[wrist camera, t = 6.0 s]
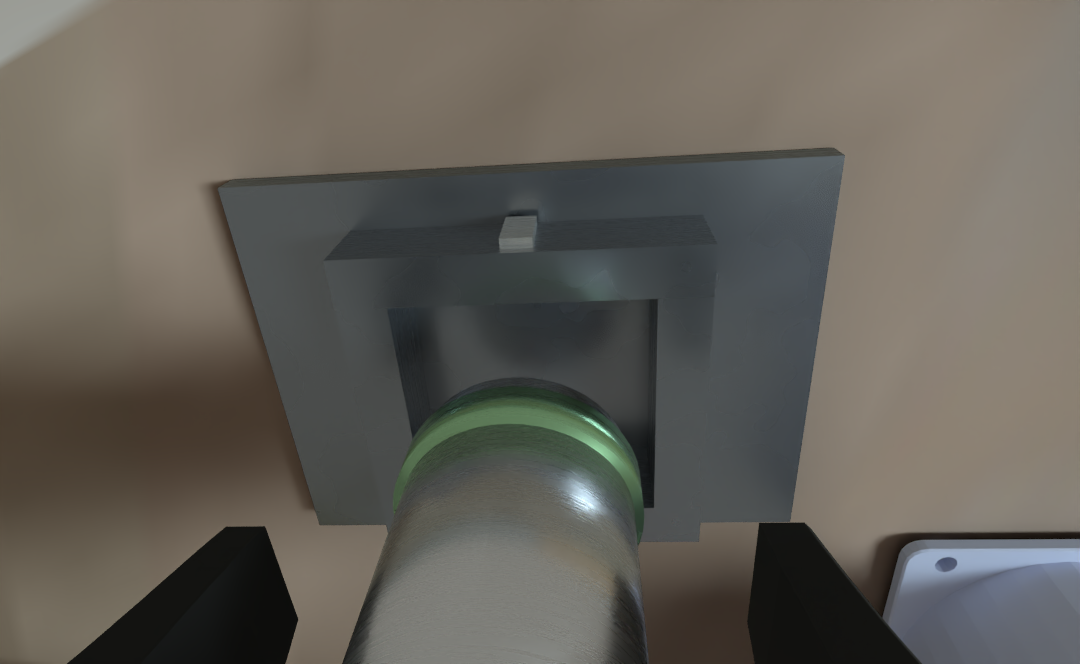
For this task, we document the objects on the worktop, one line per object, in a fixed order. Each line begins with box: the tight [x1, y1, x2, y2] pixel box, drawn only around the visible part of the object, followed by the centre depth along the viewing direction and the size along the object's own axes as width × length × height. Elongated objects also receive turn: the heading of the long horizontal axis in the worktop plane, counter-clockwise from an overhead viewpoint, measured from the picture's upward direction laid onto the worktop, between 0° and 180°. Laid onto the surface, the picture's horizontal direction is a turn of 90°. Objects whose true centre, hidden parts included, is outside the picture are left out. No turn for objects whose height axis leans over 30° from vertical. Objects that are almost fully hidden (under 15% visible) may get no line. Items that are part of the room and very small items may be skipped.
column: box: [342, 377, 649, 664], centre depth 9 cm, size 4×4×6 cm
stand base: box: [218, 148, 845, 542], centre depth 14 cm, size 12×9×2 cm
